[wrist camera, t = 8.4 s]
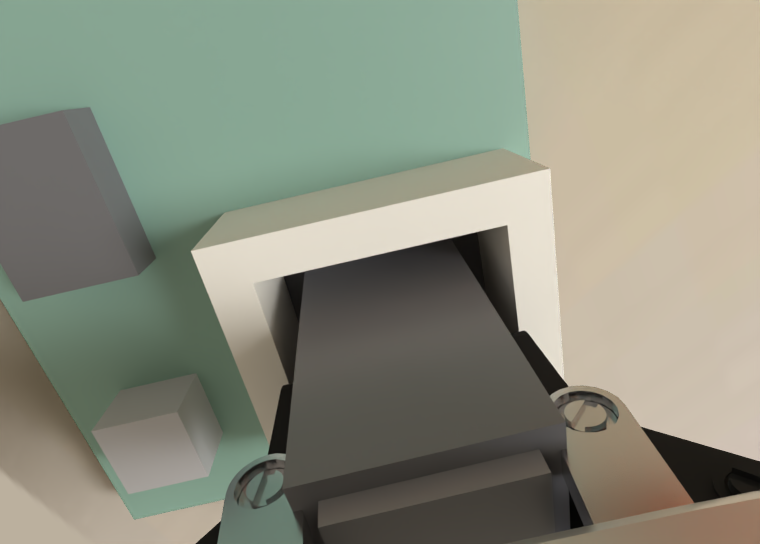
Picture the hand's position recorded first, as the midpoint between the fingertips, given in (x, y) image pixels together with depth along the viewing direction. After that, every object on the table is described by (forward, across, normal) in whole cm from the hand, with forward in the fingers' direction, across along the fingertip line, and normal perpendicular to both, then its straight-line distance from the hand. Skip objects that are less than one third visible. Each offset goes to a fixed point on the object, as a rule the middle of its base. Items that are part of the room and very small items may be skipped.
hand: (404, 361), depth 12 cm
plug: (+2, 0, 0) cm, 2 cm away
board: (+4, +3, -4) cm, 7 cm away
